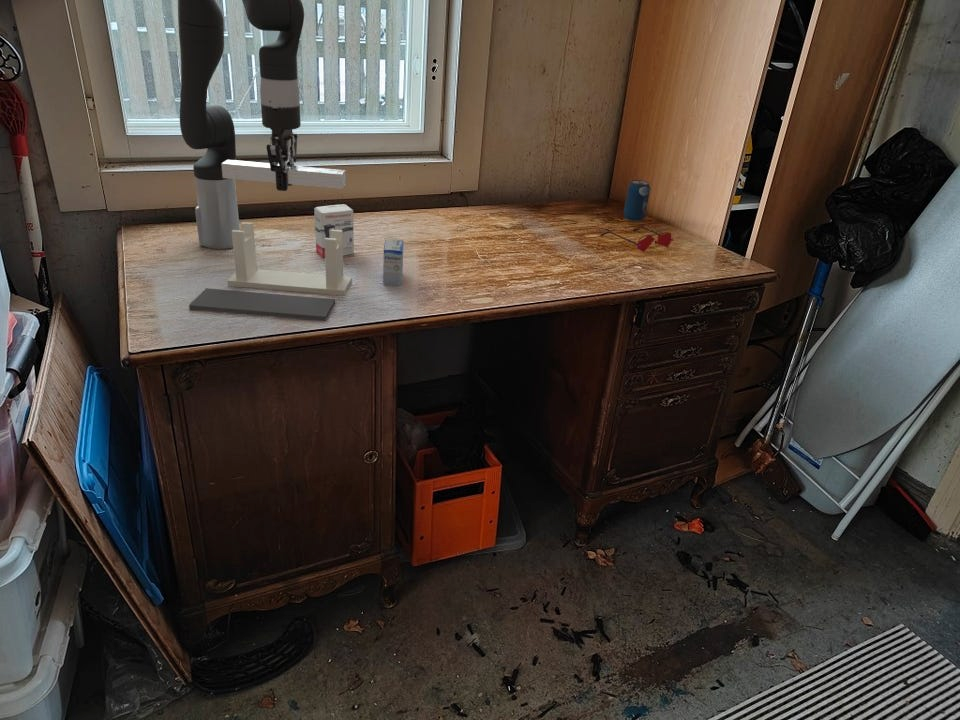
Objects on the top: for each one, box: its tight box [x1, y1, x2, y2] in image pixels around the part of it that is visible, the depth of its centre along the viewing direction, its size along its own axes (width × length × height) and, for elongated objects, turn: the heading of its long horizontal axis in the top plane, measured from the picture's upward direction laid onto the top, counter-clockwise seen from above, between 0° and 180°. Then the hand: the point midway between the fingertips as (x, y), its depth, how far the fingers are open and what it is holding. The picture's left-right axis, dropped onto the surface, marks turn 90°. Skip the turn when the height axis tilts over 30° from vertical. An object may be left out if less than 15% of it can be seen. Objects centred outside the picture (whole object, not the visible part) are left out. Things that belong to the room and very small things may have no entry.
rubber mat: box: [188, 287, 336, 322], centre depth 144 cm, size 28×9×1 cm, turn 88°
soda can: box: [623, 179, 651, 223], centre depth 220 cm, size 7×7×12 cm
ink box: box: [313, 203, 355, 259], centre depth 173 cm, size 8×5×12 cm, turn 123°
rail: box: [221, 159, 347, 190], centre depth 144 cm, size 25×4×3 cm, turn 88°
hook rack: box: [227, 221, 353, 296], centre depth 153 cm, size 26×8×12 cm, turn 88°
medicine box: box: [382, 238, 404, 286], centre depth 161 cm, size 8×4×9 cm, turn 5°
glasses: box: [599, 226, 674, 252], centre depth 202 cm, size 14×16×5 cm
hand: (285, 187), depth 146 cm, fingers closed on rail, 3 cm apart
